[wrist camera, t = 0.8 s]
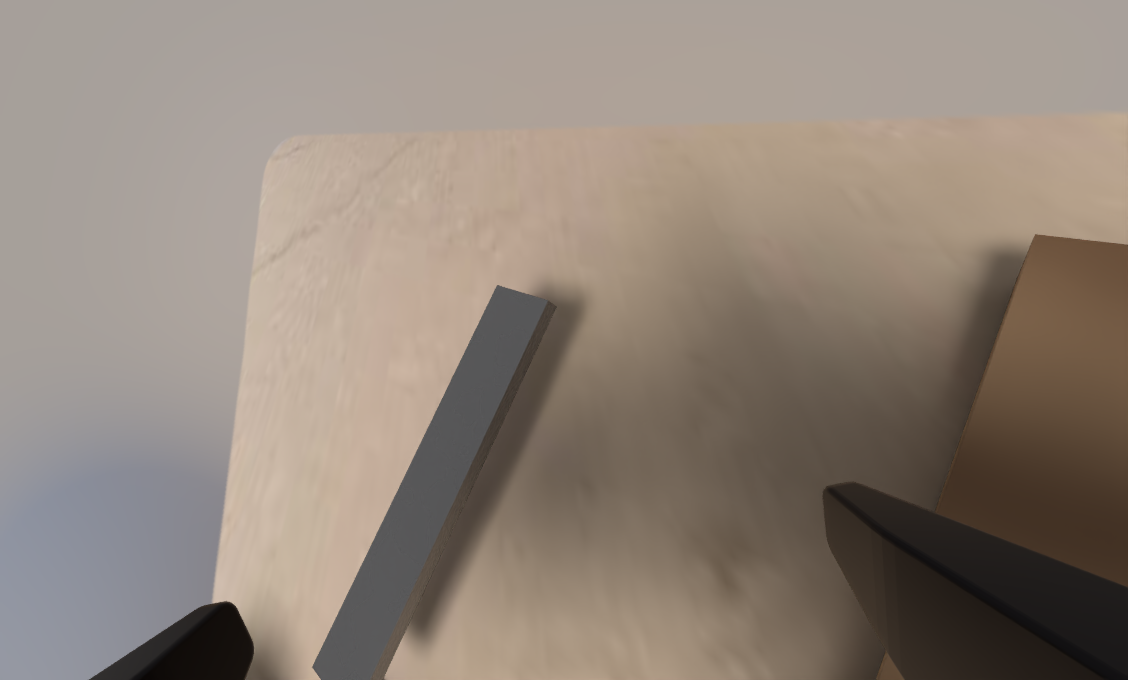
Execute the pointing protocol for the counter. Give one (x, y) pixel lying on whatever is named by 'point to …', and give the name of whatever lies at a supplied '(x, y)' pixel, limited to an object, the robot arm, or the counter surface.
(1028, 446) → the tan wooden bar
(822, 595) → the counter surface
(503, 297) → the grey flat bar piece
